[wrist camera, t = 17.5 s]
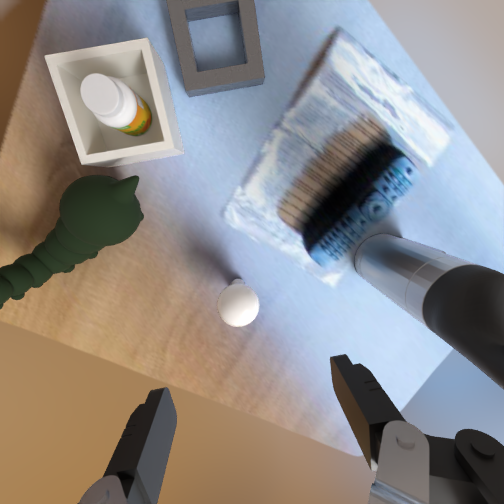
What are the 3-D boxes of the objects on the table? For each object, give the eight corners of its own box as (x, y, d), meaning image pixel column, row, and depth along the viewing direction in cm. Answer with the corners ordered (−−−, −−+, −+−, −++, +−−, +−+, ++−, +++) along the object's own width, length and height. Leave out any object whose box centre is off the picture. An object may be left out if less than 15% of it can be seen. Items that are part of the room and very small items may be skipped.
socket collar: (250, -8, 34) (251, -23, 32) (262, 84, 37) (264, 77, 35) (169, 6, 34) (164, -8, 31) (189, 97, 37) (186, 91, 34)
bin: (164, 64, 36) (147, 37, 29) (185, 153, 39) (174, 148, 32) (80, 79, 35) (44, 55, 29) (108, 167, 39) (81, 164, 32)
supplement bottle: (129, 143, 37) (93, 130, 28) (107, 107, 36) (61, 80, 26) (160, 126, 37) (135, 107, 27) (140, 88, 35) (105, 54, 26)
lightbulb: (224, 303, 46) (220, 339, 36) (216, 271, 44) (210, 299, 34) (258, 296, 46) (264, 330, 36) (252, 264, 44) (257, 290, 34)
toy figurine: (78, 282, 45) (181, 199, 40) (-39, 358, 27) (122, 225, 22) (35, 242, 43) (140, 148, 38) (-123, 296, 25) (36, 131, 20)
